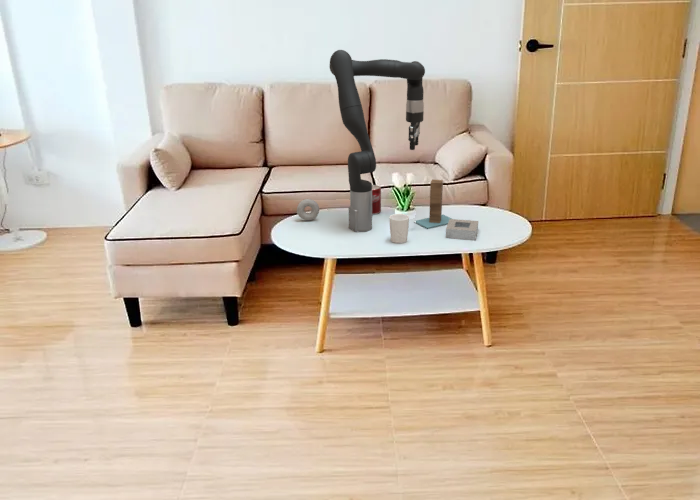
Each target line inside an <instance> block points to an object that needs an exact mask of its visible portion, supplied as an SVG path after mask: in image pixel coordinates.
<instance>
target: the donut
mask: <svg viewBox="0 0 700 500" xmlns="http://www.w3.org/2000/svg"><path fill="white" fill-rule="evenodd" d="M307 207H310V208H311V211H310V212H306V211H305V209H306V208H307ZM296 213H297V215H298V217H299V218H300V219H301V220H304V221H308V222H309V221H313V220H315V219H317V217H318V215H319V213H320V206H319V204H318V202H317V201H316V200H314V199H312V198H305V199H303V200H301V201H299V203H298V205H297V207H296Z"/></svg>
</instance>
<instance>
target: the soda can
mask: <svg viewBox="0 0 700 500" xmlns="http://www.w3.org/2000/svg"><path fill="white" fill-rule="evenodd" d="M381 211H382V187H381V186H380V185H376V184H372V215H378V214H380V213H381Z"/></svg>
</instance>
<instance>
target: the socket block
mask: <svg viewBox="0 0 700 500" xmlns="http://www.w3.org/2000/svg"><path fill="white" fill-rule="evenodd" d="M478 231H479V220H472V219H471V220H470V219H459V218H458V219H455V218H452V219H450V220H449V222H448V225H446V227H445V239H456V240H466V241H468V240H469V241H476V238H477V234H478Z"/></svg>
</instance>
